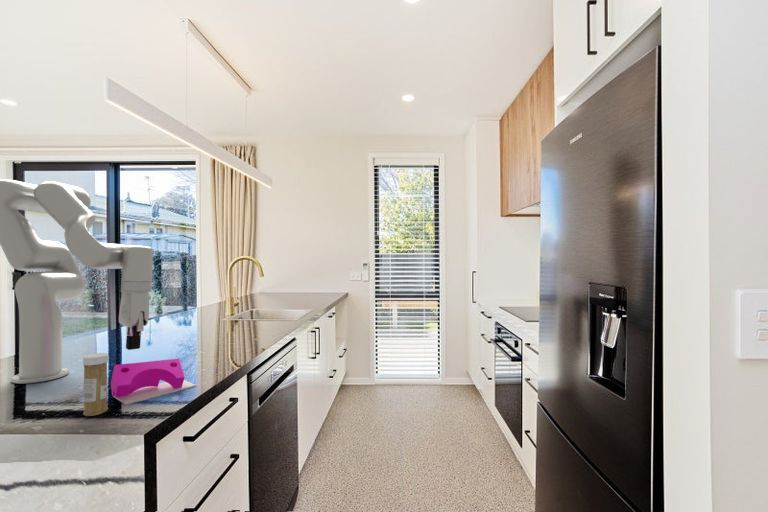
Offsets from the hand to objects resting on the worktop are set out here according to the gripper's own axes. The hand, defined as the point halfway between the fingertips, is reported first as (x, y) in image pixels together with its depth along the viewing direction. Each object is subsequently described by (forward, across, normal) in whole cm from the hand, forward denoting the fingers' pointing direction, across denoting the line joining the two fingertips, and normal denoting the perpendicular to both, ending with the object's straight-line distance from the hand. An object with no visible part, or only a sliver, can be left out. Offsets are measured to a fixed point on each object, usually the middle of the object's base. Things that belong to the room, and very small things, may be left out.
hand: (132, 348), depth 112 cm
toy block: (+3, +13, -1) cm, 14 cm away
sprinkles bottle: (+9, +22, -14) cm, 27 cm away
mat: (+8, +17, 0) cm, 19 cm away
